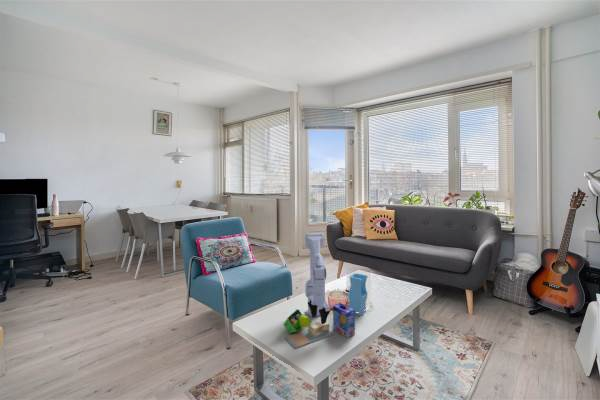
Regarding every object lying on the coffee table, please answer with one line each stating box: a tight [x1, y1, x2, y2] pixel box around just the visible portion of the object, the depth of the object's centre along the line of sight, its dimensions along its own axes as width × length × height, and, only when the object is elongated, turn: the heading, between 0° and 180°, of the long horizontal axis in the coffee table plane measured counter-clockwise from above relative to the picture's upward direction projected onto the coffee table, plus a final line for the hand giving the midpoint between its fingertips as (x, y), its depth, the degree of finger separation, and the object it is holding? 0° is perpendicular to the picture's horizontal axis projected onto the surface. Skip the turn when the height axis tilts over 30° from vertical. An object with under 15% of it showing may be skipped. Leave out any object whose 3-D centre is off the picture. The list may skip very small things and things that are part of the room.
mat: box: [284, 329, 334, 350], centre depth 137 cm, size 21×10×1 cm, turn 122°
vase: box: [347, 272, 368, 316], centre depth 162 cm, size 8×8×20 cm
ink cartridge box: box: [332, 302, 356, 338], centre depth 141 cm, size 10×6×14 cm, turn 38°
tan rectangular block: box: [307, 320, 330, 337], centre depth 140 cm, size 9×4×4 cm, turn 122°
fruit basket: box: [283, 309, 312, 334], centre depth 141 cm, size 11×9×11 cm
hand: (318, 319), depth 139 cm, fingers open, 7 cm apart
